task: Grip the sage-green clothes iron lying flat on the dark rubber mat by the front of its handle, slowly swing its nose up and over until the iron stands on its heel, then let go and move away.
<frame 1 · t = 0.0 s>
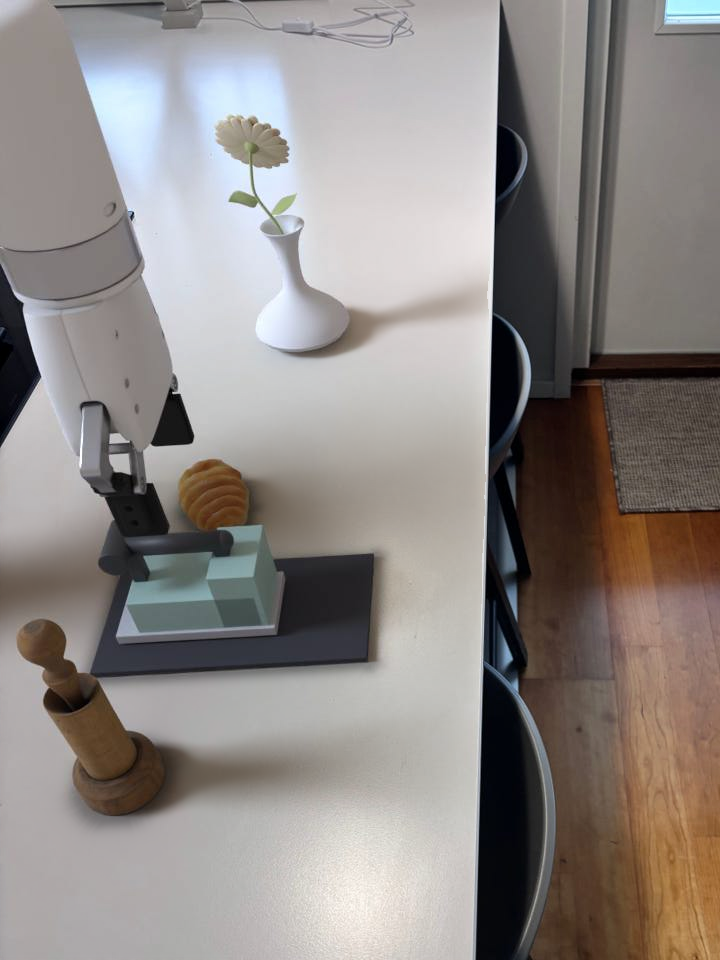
hand: (160, 486, 69), 21 cm above the counter, tool pointing down, fingers open, 9 cm apart
flower in vase: (300, 335, 120), on the counter
iron: (189, 573, 85), point 6 cm above the counter, hinge at 0.0°
pastry: (221, 510, 99), on the counter
mortar and pestle: (124, 781, 78), on the counter
iron mat: (239, 614, 89), on the counter
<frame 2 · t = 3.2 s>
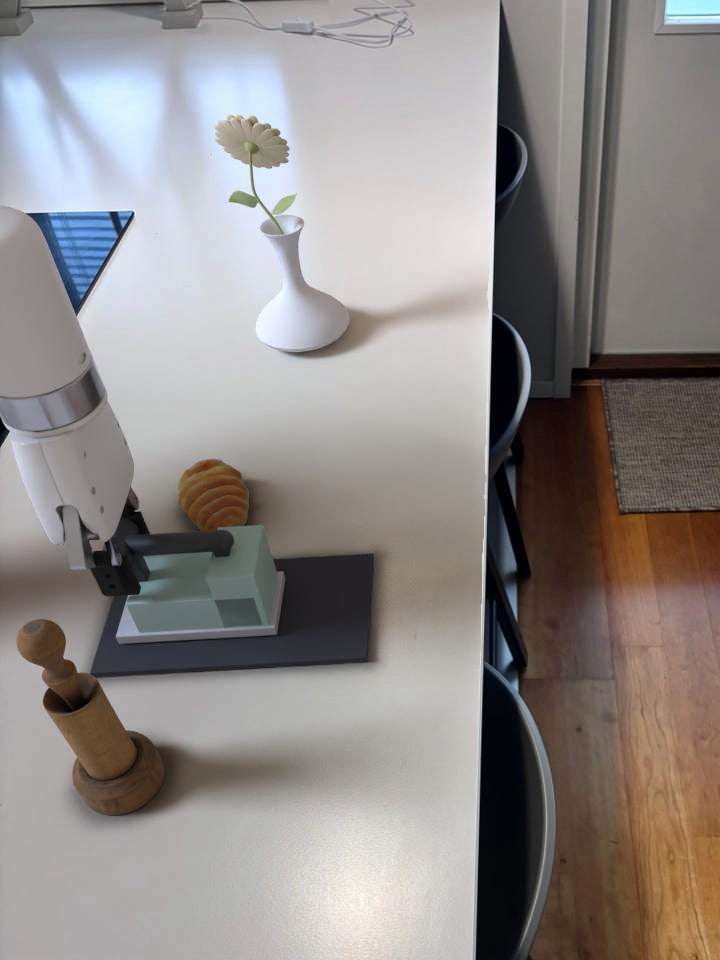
hand: (129, 568, 84), 6 cm above the counter, tool pointing down, fingers closed on iron, 4 cm apart
iron: (189, 573, 85), point 6 cm above the counter, hinge at 0.0°, touching gripper
everything else where it was.
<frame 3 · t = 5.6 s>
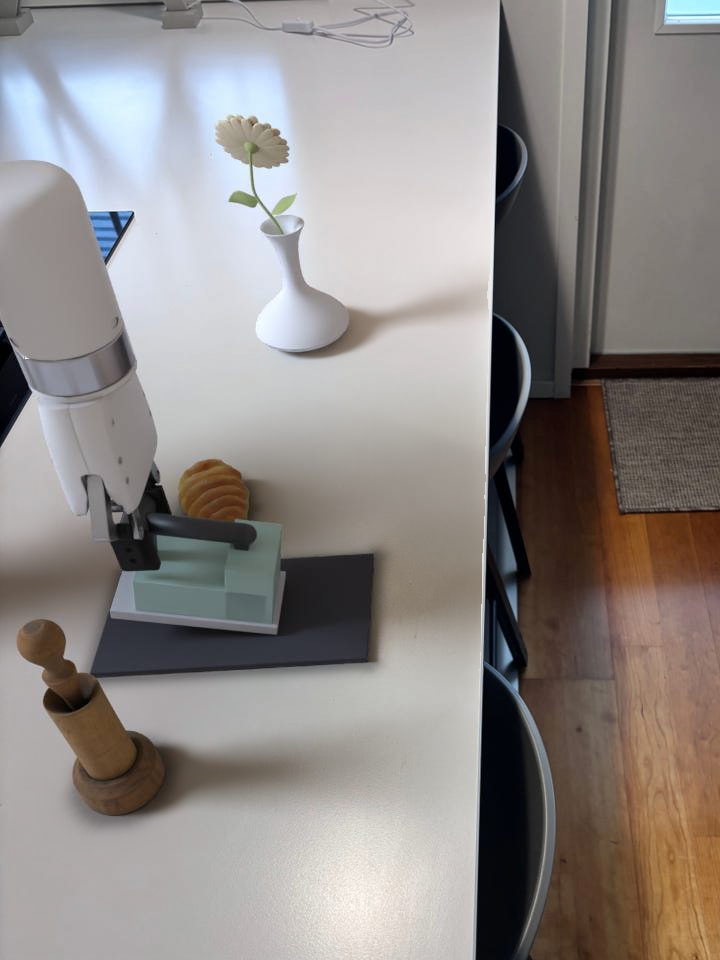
hand: (148, 544, 82), 9 cm above the counter, tool pointing down, fingers closed on iron, 4 cm apart
iron: (200, 559, 84), point 7 cm above the counter, hinge at 13.7°, touching gripper
everything else where it was.
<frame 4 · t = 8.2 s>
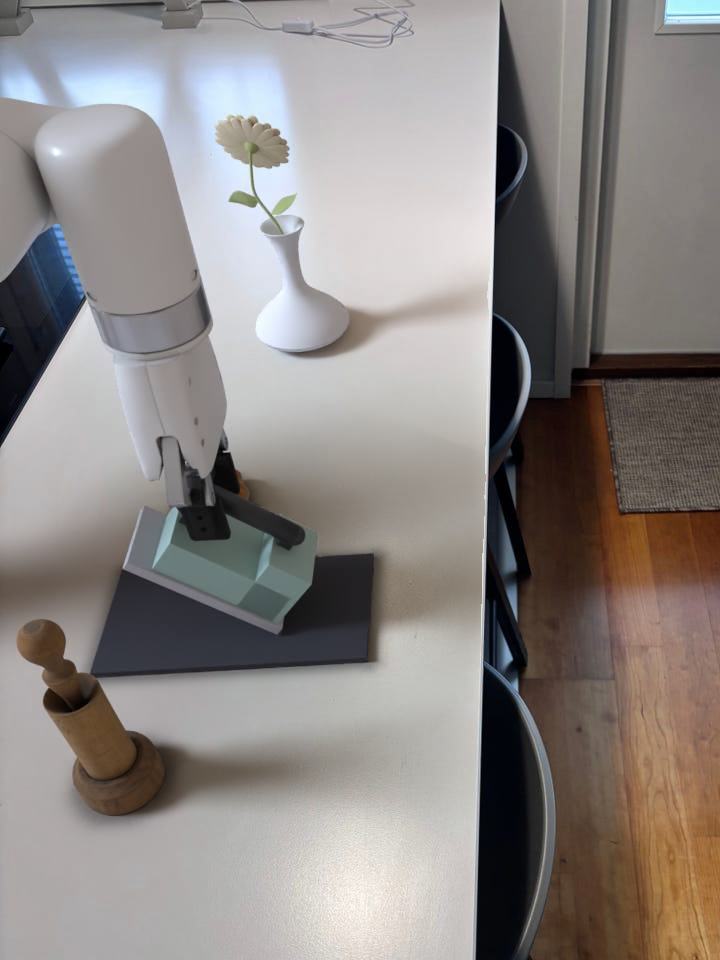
hand: (216, 513, 80), 12 cm above the counter, tool pointing down, fingers closed on iron, 4 cm apart
iron: (233, 541, 82), point 9 cm above the counter, hinge at 39.8°, touching gripper
everything else where it was.
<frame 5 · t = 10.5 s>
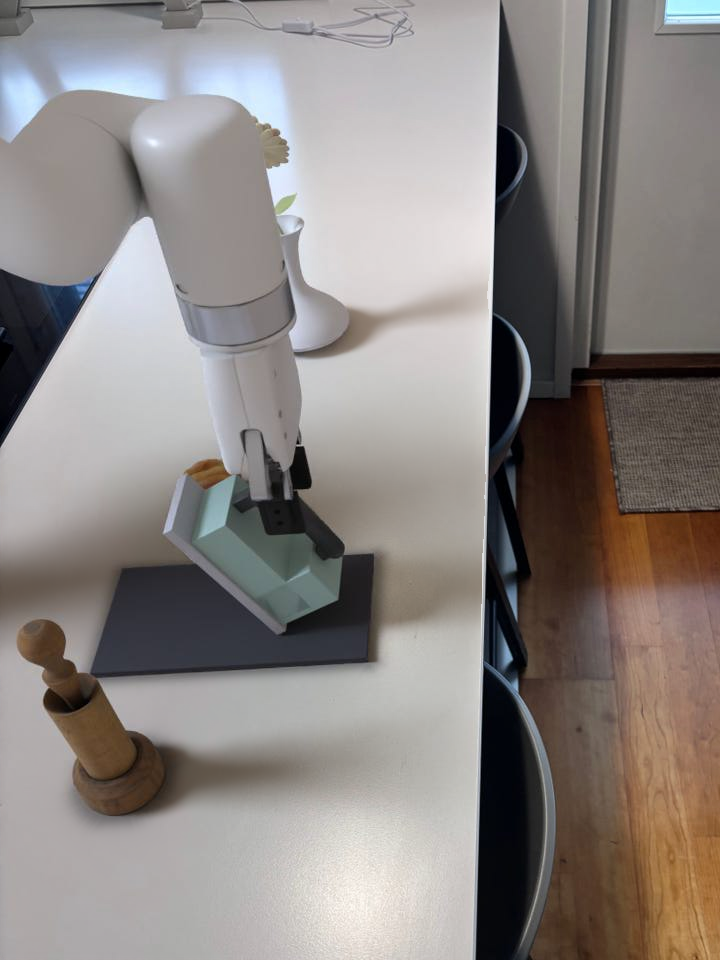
hand: (289, 507, 80), 12 cm above the counter, tool pointing down, fingers closed on iron, 4 cm apart
iron: (272, 536, 82), point 9 cm above the counter, hinge at 62.7°, touching gripper
everything else where it was.
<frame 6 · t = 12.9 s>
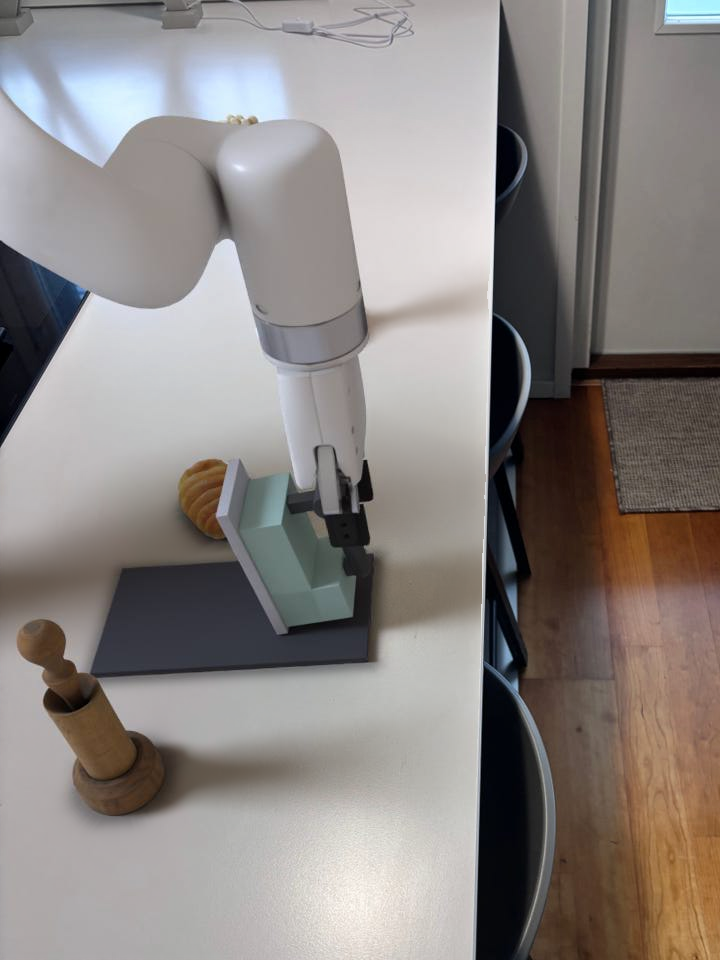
hand: (352, 520, 81), 10 cm above the counter, tool pointing down, fingers closed on iron, 4 cm apart
iron: (307, 541, 83), point 8 cm above the counter, hinge at 82.4°, touching gripper
everything else where it was.
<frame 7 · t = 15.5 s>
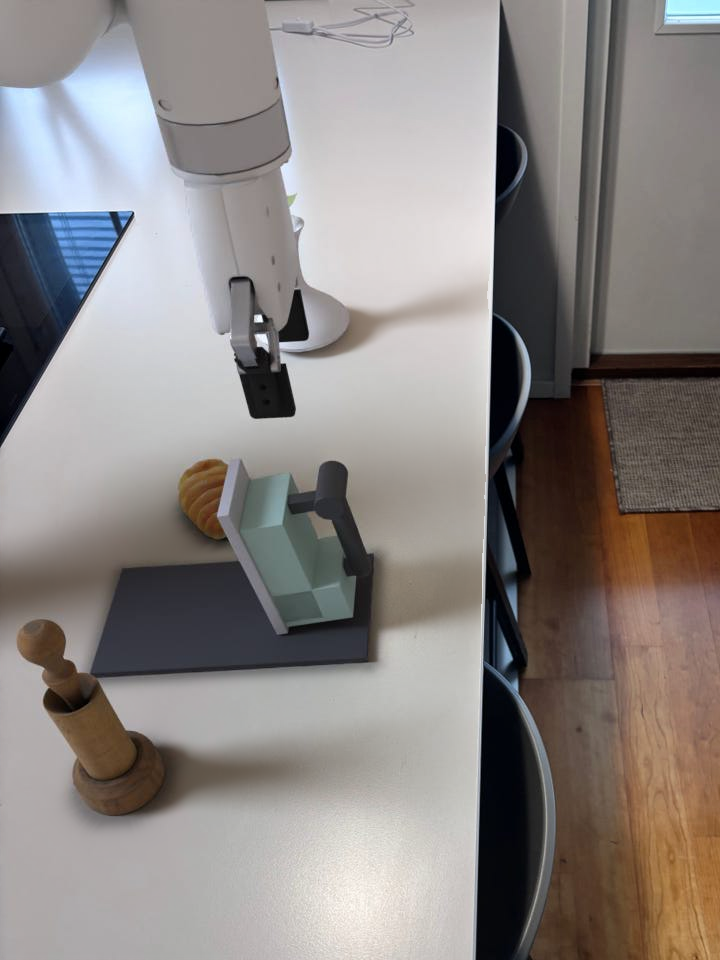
hand: (281, 376, 72), 23 cm above the counter, tool pointing down, fingers open, 9 cm apart
iron: (308, 542, 83), point 8 cm above the counter, hinge at 82.7°
everything else where it was.
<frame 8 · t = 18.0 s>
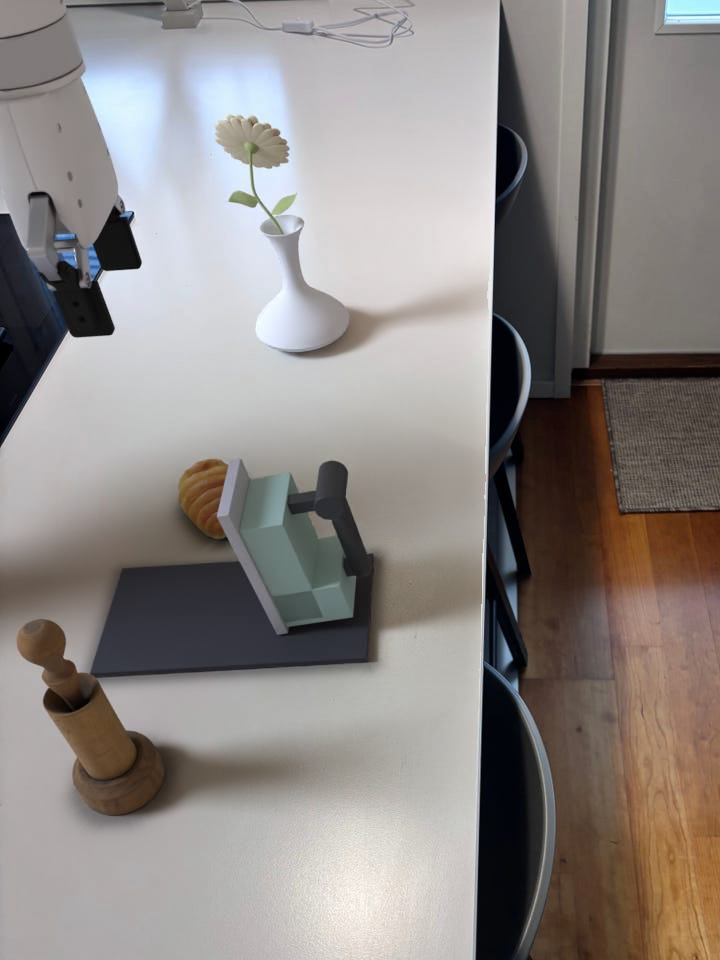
hand: (109, 300, 75), 26 cm above the counter, tool pointing down, fingers open, 9 cm apart
nothing on the counter moved.
at the end: iron at +83° (first picture: +0°); the gripper is holding nothing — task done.
